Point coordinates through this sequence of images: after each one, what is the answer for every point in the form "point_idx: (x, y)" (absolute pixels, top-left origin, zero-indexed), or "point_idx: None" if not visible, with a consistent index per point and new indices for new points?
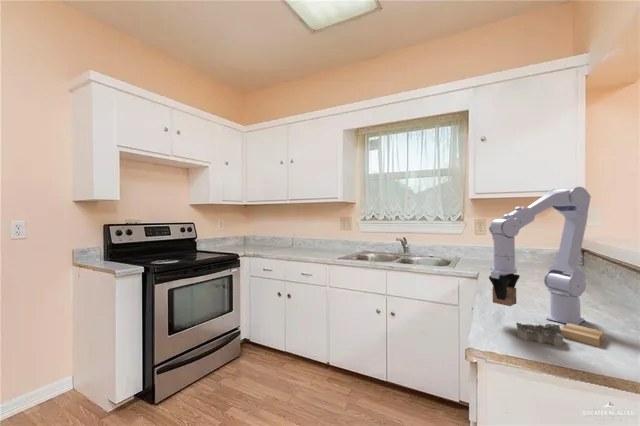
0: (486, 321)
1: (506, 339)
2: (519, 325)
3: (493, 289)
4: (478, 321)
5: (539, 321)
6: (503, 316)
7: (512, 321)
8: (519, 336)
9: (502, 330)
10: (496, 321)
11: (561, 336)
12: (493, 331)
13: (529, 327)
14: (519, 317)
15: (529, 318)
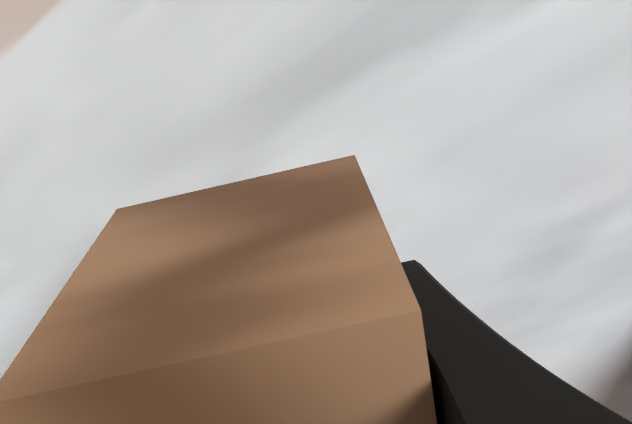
0: (155, 60)
1: (7, 352)
2: None
3: (26, 373)
4: (69, 22)
5: (582, 246)
6: (462, 35)
7: (391, 162)
8: None
9: None
10: (253, 102)
11: None
12: (23, 241)
13: None
14: (561, 123)
15: (602, 175)
